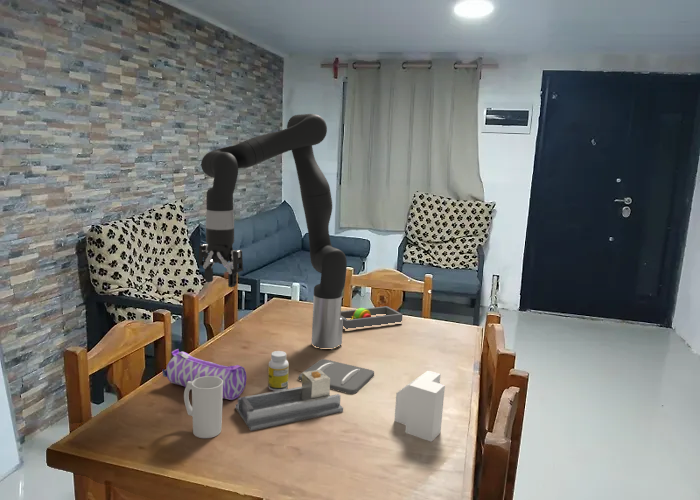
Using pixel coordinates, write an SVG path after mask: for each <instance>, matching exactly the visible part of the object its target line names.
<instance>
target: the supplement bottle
mask: <svg viewBox="0 0 700 500" xmlns="http://www.w3.org/2000/svg"><path fill="white" fill-rule="evenodd" d="M270 359H271V360H269V362H268V377H267V379H268V382H267V383H268V388H269V390H271V391H272V392H274V391H280V390H285V389H289V388H288V387H289V371H290V370H289V361H288V359H287V353H286V352H285V351H282V350H274V351H272V352H271V357H270Z"/></svg>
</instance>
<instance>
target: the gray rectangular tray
mask: <svg viewBox="0 0 700 500" xmlns="http://www.w3.org/2000/svg"><path fill="white" fill-rule="evenodd" d="M365 309H367V310H369V311H370V313H371V315H376V314H386V315H385V316H376V317H368V318H359V319H351V320H347V319H346V318H351V316H353V314H354V312H355V311H356V310H357V309H349V310H341V318H342V319H343V326H344V327H345V328H346V329H348V328H356V327H364V326H372V325H381V324H388V323H395V322H401V321H402V322H403V313H401V312H398V311H397V310H396V309H394V308H391V307H390V306H387V305H386V306H377V307H368V308H365Z"/></svg>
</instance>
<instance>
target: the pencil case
mask: <svg viewBox="0 0 700 500" xmlns="http://www.w3.org/2000/svg"><path fill="white" fill-rule="evenodd" d="M171 354H172V356H173V357H172V358H171V359H170V360H169V362H168V364H167V365H166V369H164V368H163V369H162V377H165V378H166V379H168V382H170V383H171V384H175V385H179V386H183V387H184V388H186V386H187V382H188V381H191V382H192V381H193V380H195V379H196V378H199V377H203V376H215V377H219V378H221V379H222V380H223V399H226V400H230V401H232V400H235V399H238V398H239V397H240V396H241V394H242V393H243V392H244V391H245V389H246V384H247V371H246V369H245V367H243V366H241V365H239V364H236V365H230V366H227V365H222V364H219V363H215V362H212V361H208V360H207V361H206V360H203V359H201V358H197V357H194V356H192V355H191V354H189V353H187V352H185V351H179V348H177V349H174V350H172V351H171Z"/></svg>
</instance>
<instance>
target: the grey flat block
mask: <svg viewBox="0 0 700 500" xmlns="http://www.w3.org/2000/svg"><path fill="white" fill-rule="evenodd" d="M314 370H321V371H322V372H323V373H324V374H326V375H327V376H328V377H329V378H330V390H333V389H334V391H337V390H339V391H338V392H341V391H342V393H345V392H346V393H345V394H349V395H353V394H354V393H355V394H357V392H359V391H360V390H361V389H362V388H363V387H364V386H366V385H367V384H368V383H369V380H370V379H371V378H372V377H373V376H374V377H375V371H374V370H372V369H369V368H365V367H362V366H357V365H352V364H347V363H342V362H339V361H333V360H331V359H325V358H322V359H319V360H318V361H316V362H315V363H314V364H312V365H310V366H309V367H308V368H307V369H305V370H304V371H303V372H308V371H314ZM374 377H373V378H374ZM373 378H372V379H373ZM298 379H299V380H301V381H300V382H302V372H301V373H299V374H298V376H297V380H298ZM372 379H371V380H372ZM299 380H298V381H299ZM371 380H370V381H371Z"/></svg>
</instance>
